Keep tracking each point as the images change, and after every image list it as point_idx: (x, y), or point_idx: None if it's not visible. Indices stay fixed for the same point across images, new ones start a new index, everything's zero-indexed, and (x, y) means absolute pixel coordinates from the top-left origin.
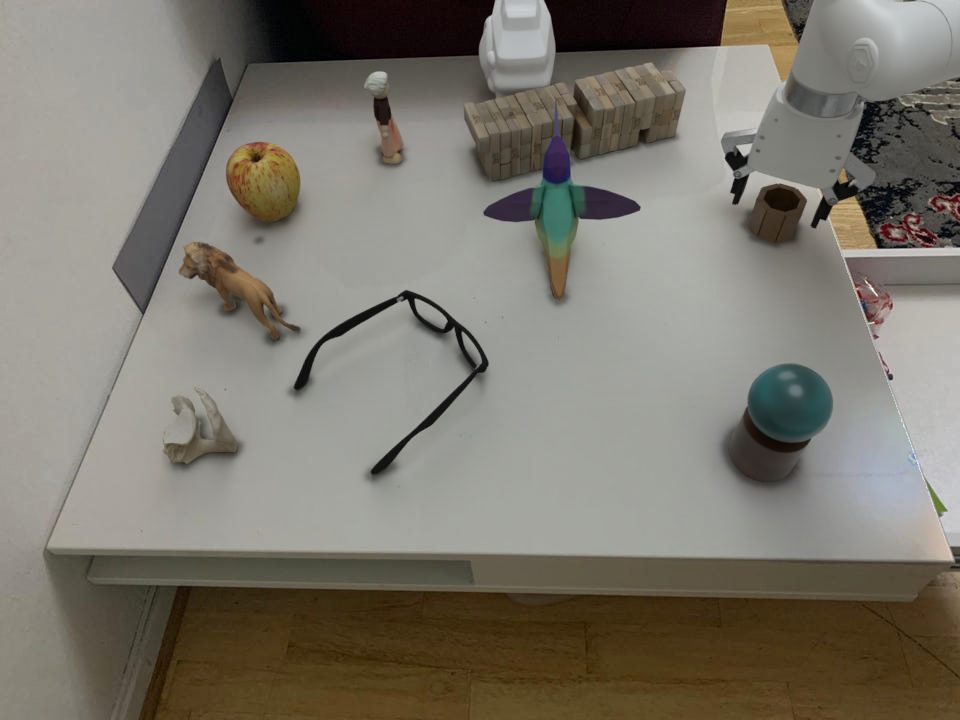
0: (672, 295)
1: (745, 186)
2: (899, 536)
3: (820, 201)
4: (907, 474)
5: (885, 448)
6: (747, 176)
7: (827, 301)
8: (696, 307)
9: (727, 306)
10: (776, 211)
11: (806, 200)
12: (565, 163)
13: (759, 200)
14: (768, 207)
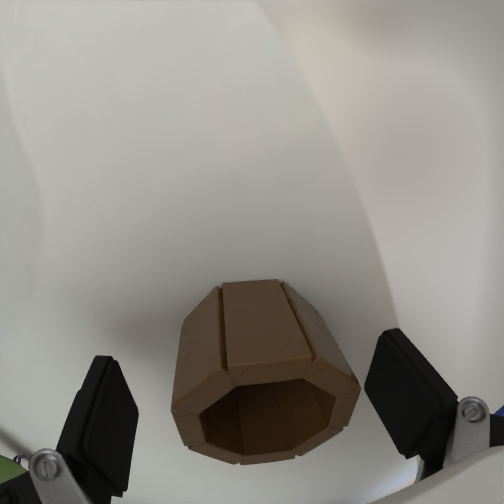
0: (166, 486)
1: (111, 377)
2: (398, 490)
3: (404, 379)
4: (413, 473)
5: (404, 473)
6: (112, 481)
7: (381, 422)
8: (204, 489)
9: (241, 481)
10: (266, 459)
11: (358, 389)
12: None
13: (197, 450)
14: (237, 458)
